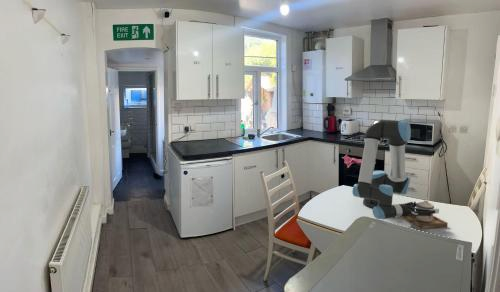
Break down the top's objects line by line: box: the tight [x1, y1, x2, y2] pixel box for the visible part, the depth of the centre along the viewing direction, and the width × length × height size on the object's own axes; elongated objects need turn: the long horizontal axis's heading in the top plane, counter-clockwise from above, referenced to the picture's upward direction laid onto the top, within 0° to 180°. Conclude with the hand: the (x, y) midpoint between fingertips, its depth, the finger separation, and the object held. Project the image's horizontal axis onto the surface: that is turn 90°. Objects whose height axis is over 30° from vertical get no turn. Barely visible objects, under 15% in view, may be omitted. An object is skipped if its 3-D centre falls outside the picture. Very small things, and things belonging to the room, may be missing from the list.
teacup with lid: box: [416, 199, 435, 222], centre depth 209 cm, size 12×9×12 cm
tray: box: [402, 214, 448, 230], centre depth 210 cm, size 17×17×2 cm
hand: (432, 207), depth 210 cm, fingers closed on teacup with lid, 10 cm apart
